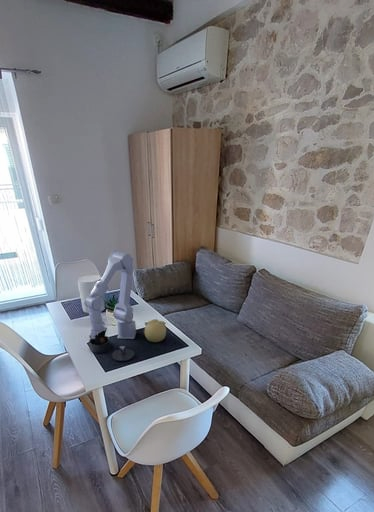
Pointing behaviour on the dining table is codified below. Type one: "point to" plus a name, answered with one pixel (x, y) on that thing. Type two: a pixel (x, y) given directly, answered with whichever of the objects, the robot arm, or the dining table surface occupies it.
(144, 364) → the dining table surface
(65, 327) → the dining table surface
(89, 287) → the canister
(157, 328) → the sculpture
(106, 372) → the dining table surface
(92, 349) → the pot
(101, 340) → the mushroom
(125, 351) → the lid
